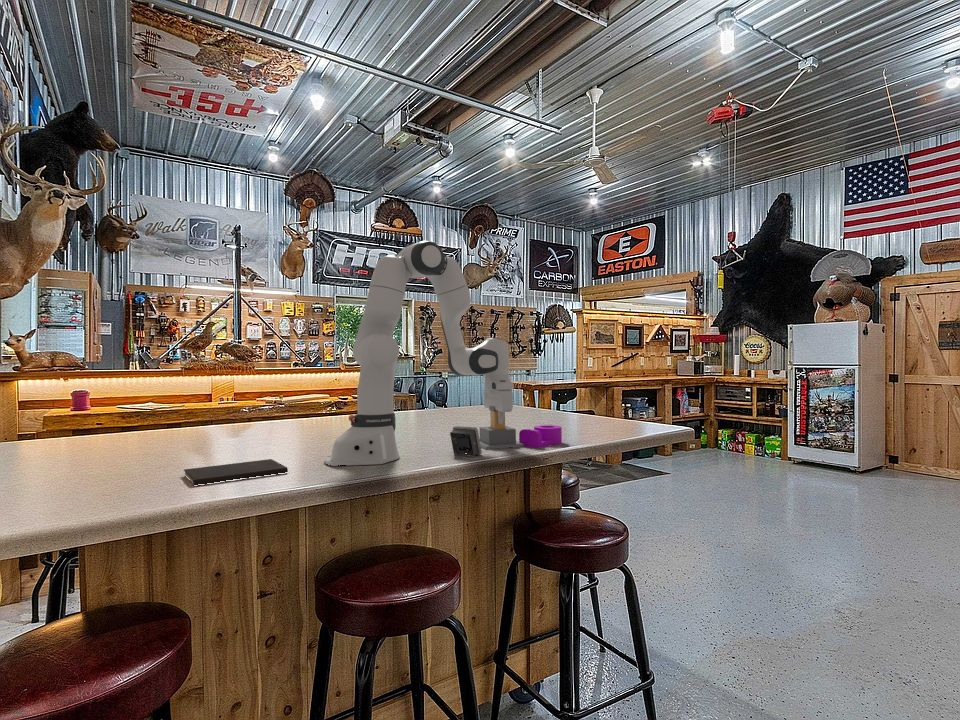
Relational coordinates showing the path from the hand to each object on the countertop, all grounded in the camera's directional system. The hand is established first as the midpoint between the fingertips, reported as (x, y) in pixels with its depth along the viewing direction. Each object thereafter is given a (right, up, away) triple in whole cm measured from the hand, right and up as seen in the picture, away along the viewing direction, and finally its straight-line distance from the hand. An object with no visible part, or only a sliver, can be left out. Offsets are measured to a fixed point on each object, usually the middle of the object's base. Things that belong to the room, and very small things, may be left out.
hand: (497, 422), depth 188 cm
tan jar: (0, -3, 0) cm, 3 cm away
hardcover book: (-73, -10, -44) cm, 85 cm away
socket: (0, -8, 0) cm, 8 cm away
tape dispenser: (+16, -8, +1) cm, 18 cm away
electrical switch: (-11, -8, -18) cm, 23 cm away
